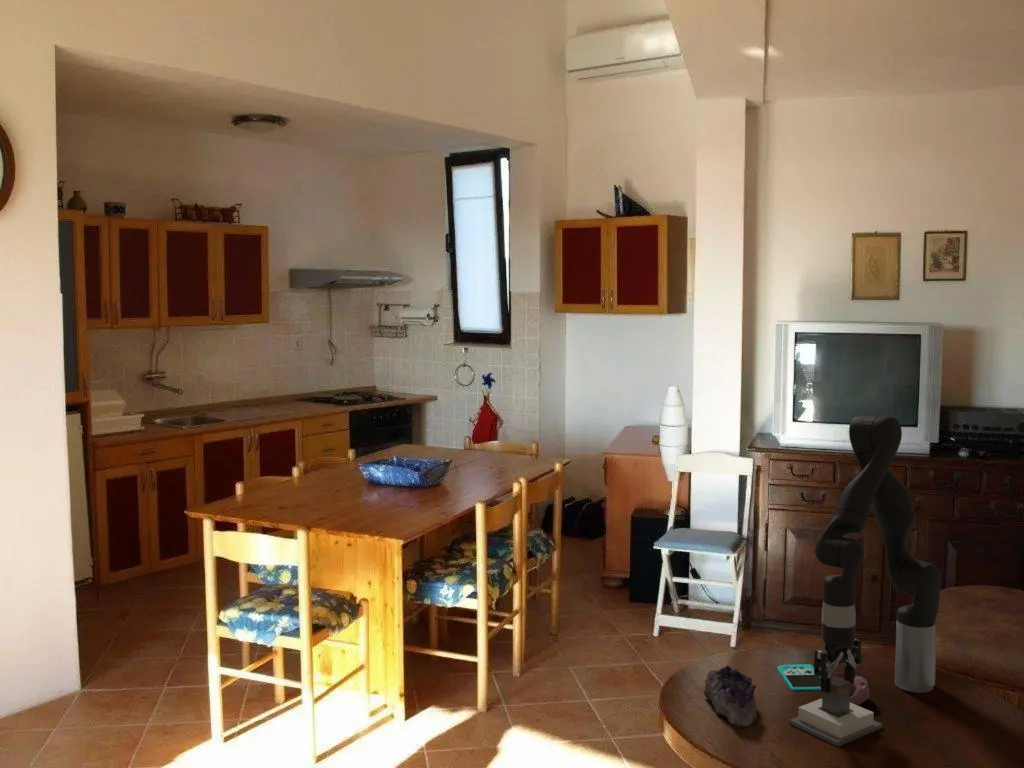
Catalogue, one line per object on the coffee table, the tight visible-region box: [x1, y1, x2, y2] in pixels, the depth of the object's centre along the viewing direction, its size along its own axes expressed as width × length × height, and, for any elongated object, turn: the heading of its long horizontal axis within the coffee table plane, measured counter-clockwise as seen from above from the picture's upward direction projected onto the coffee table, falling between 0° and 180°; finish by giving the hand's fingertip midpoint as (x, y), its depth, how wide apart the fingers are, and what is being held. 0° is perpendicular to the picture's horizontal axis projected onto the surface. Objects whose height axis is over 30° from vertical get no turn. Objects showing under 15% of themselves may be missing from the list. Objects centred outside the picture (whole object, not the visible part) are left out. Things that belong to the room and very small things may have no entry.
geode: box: [703, 665, 758, 729], centre depth 240 cm, size 20×12×10 cm, turn 6°
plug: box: [821, 675, 851, 718], centre depth 230 cm, size 4×4×10 cm
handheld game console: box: [776, 663, 822, 692], centre depth 259 cm, size 10×16×1 cm, turn 0°
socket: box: [788, 698, 883, 747], centre depth 231 cm, size 16×14×4 cm
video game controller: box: [850, 675, 870, 706], centre depth 244 cm, size 10×5×7 cm, turn 170°
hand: (837, 687), depth 230 cm, fingers open, 8 cm apart
